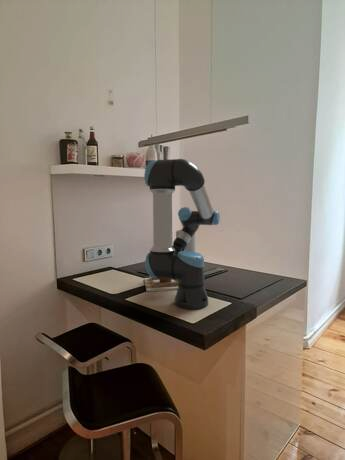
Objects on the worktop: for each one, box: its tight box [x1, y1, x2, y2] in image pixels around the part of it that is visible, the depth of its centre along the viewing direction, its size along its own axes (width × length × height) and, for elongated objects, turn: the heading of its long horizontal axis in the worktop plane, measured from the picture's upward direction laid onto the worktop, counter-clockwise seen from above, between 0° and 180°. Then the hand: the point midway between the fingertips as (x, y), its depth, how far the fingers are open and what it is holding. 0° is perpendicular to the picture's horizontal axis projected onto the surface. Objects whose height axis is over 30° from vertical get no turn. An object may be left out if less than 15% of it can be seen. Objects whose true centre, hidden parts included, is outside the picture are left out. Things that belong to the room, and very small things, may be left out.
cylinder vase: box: [175, 229, 196, 252], centre depth 205 cm, size 12×12×25 cm
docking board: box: [143, 275, 178, 293], centre depth 170 cm, size 22×22×3 cm
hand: (161, 272), depth 168 cm, fingers open, 11 cm apart
